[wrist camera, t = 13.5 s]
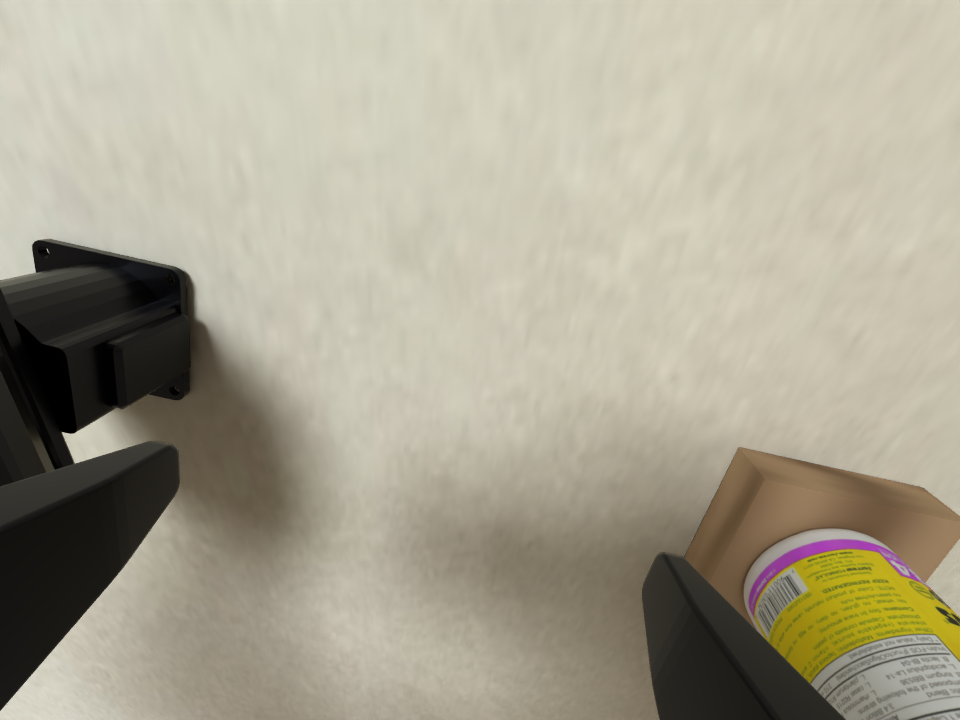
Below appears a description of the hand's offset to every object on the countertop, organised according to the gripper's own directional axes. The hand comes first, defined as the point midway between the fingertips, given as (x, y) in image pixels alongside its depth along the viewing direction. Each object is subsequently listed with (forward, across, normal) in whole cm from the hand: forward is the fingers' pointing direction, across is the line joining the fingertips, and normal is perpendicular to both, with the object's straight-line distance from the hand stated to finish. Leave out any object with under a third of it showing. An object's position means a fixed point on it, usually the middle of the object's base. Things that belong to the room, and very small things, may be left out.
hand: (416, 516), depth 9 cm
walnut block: (+13, -18, +8) cm, 24 cm away
